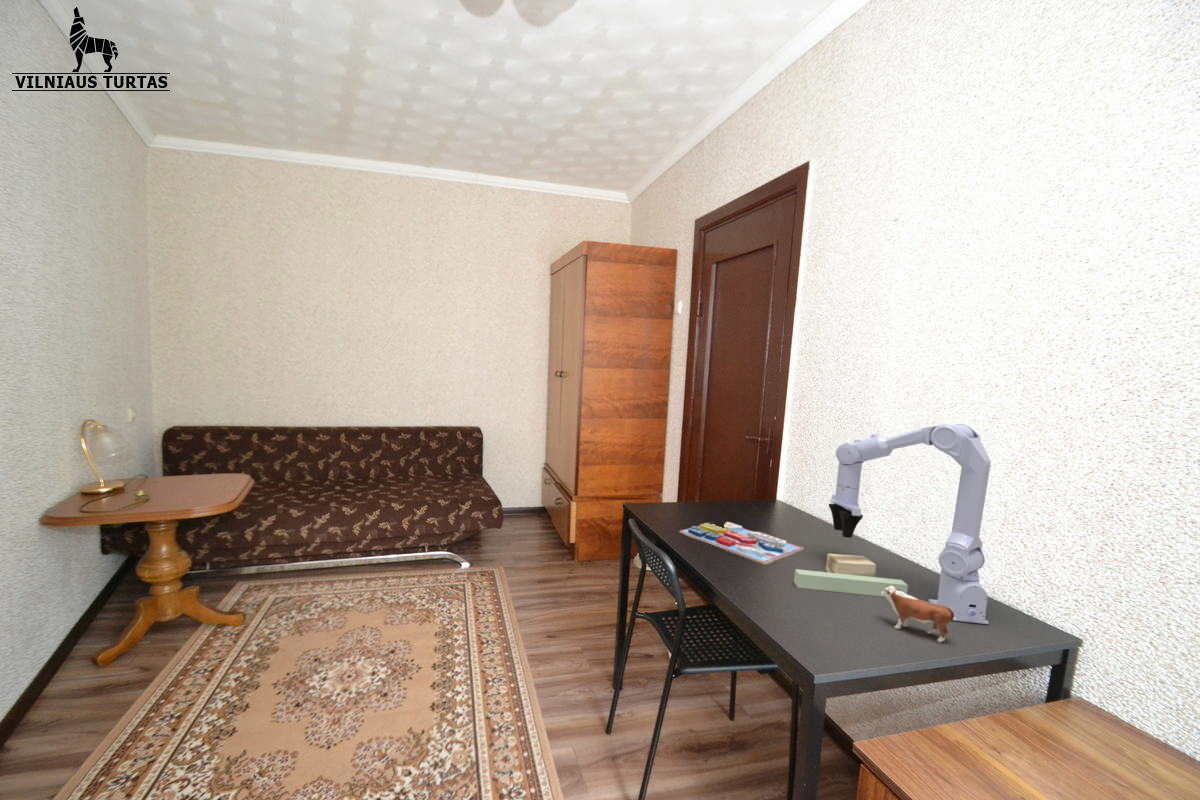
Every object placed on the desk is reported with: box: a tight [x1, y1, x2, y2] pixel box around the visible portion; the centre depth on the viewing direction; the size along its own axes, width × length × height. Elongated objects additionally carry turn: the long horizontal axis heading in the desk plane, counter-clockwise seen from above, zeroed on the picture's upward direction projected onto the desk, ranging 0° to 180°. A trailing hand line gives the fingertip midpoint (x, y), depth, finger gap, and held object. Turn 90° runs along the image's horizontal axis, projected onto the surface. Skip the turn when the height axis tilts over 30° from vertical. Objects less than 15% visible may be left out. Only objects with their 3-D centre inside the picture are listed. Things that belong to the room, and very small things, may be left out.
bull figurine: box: [881, 586, 954, 644], centre depth 105 cm, size 4×13×8 cm, turn 51°
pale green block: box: [793, 568, 909, 598], centre depth 123 cm, size 3×26×4 cm, turn 85°
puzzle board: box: [678, 521, 805, 567], centre depth 155 cm, size 30×23×3 cm
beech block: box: [825, 553, 877, 577], centre depth 133 cm, size 6×10×5 cm, turn 91°
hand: (842, 533), depth 139 cm, fingers open, 5 cm apart
